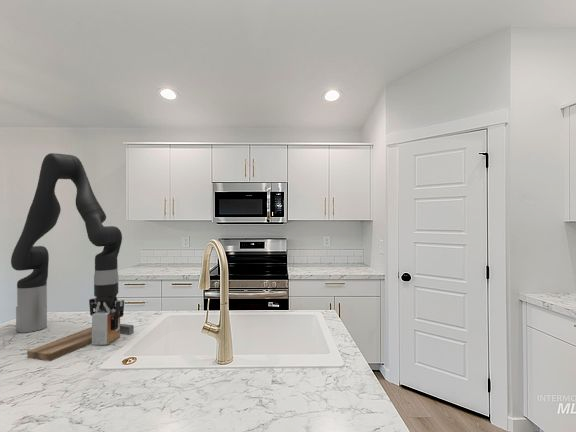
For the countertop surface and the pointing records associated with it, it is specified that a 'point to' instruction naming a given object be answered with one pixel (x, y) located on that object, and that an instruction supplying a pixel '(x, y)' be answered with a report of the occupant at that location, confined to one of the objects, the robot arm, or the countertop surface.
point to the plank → (62, 346)
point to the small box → (103, 328)
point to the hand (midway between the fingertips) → (106, 328)
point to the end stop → (126, 329)
